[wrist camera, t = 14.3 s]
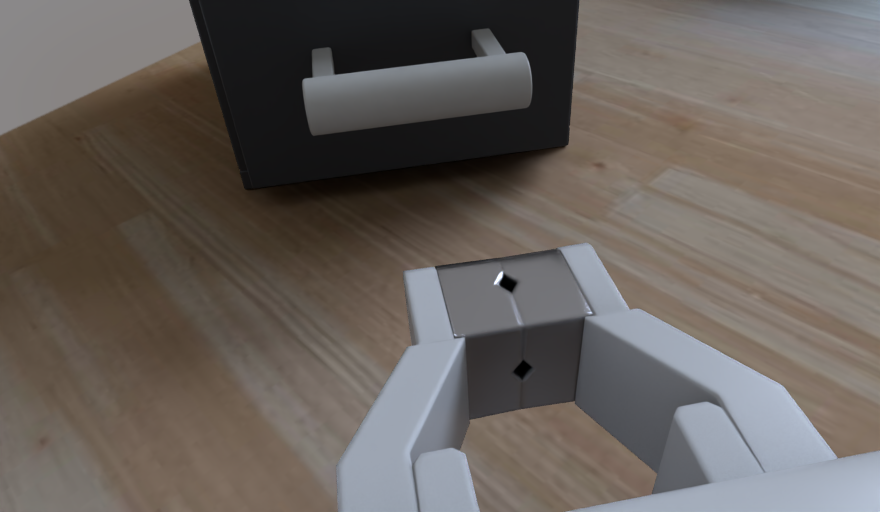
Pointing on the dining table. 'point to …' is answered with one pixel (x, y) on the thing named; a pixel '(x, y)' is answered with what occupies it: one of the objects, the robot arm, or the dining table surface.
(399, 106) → the drawer
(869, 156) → the dining table surface
